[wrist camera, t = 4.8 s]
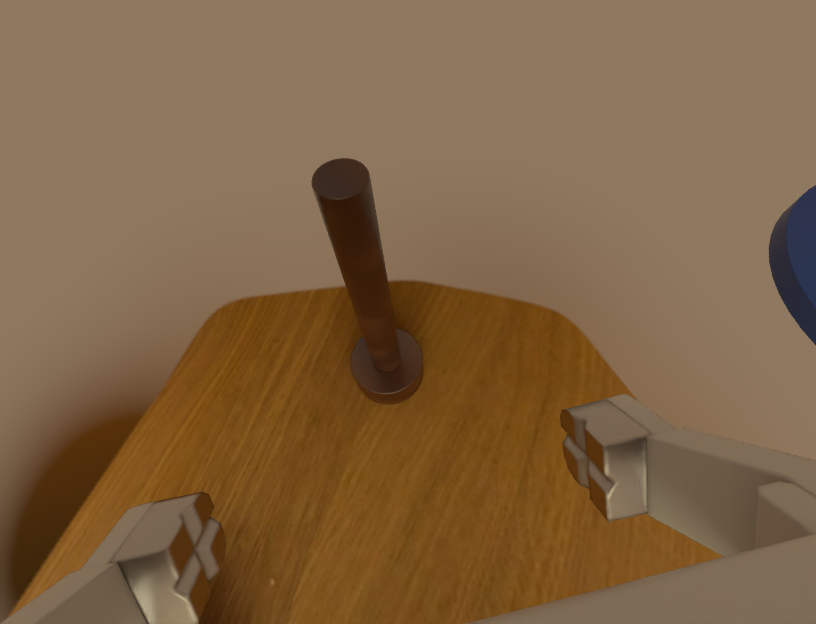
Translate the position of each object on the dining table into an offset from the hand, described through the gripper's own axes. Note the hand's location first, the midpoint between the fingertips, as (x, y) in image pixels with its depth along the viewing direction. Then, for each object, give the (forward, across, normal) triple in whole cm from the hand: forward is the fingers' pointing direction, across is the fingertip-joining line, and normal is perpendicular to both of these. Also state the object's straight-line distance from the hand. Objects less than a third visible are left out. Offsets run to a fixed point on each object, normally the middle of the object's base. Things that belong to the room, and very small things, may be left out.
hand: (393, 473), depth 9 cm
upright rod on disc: (+20, 0, +6) cm, 20 cm away
